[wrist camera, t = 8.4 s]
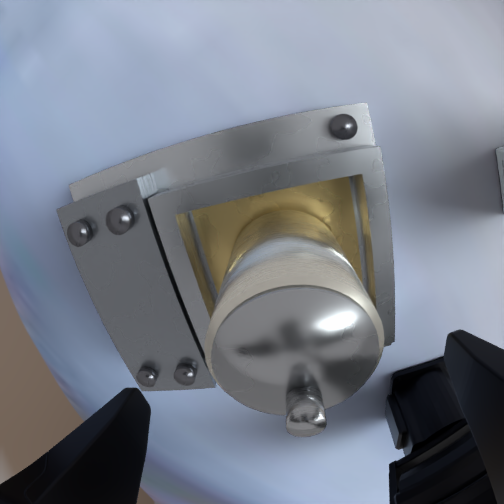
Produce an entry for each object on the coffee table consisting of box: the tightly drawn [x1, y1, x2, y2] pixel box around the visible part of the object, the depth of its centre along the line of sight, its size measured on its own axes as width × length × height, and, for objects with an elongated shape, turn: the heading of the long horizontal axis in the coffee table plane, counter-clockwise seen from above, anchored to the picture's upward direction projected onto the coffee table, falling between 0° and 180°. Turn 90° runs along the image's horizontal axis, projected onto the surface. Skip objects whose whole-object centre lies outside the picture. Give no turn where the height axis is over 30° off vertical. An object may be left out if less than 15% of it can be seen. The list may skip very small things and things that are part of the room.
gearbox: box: [57, 103, 395, 391], centre depth 15 cm, size 16×14×5 cm
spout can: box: [204, 210, 384, 437], centre depth 11 cm, size 6×6×8 cm
